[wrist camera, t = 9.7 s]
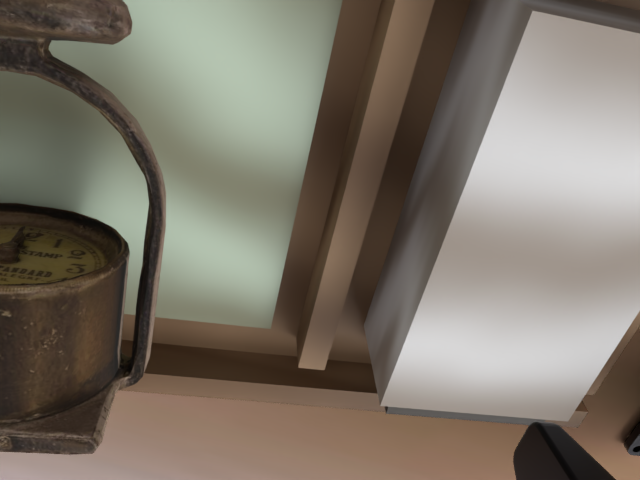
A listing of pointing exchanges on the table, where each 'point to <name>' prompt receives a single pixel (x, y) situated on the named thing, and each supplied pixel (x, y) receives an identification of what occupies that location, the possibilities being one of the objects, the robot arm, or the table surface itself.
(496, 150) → the rail board
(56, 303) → the bronze arched handle device
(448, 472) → the table surface
